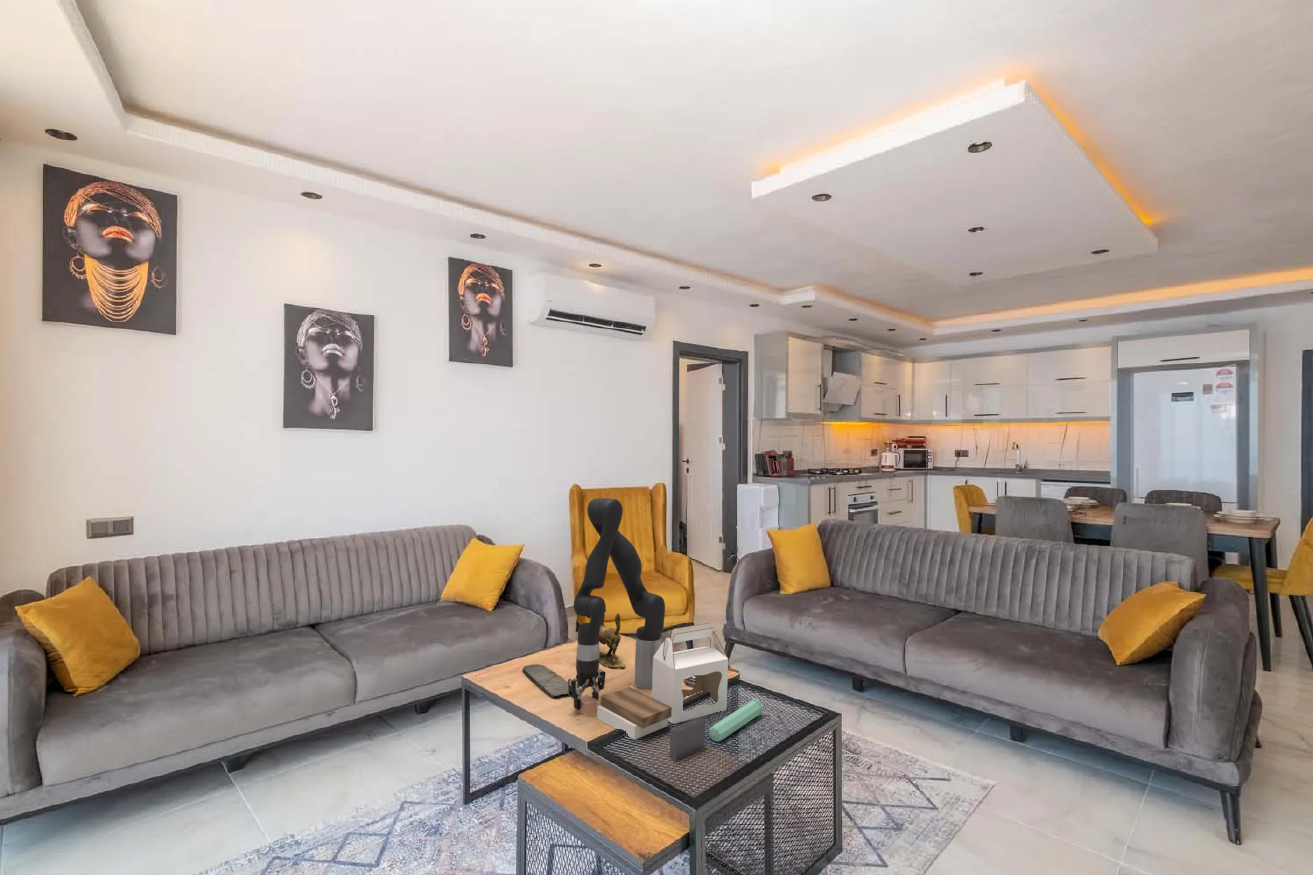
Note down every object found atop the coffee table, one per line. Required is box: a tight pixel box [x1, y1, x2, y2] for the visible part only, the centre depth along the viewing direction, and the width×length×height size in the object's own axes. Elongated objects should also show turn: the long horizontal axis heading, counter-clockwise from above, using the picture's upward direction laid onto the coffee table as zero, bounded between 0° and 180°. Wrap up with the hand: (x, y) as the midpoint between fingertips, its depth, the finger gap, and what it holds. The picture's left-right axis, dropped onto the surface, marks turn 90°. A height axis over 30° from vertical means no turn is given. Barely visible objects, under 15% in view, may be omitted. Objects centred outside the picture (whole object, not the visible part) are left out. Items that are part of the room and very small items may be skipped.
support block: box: [574, 694, 599, 716], centre depth 206 cm, size 5×6×4 cm
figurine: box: [586, 609, 627, 670], centre depth 251 cm, size 13×25×20 cm, turn 41°
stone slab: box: [522, 663, 569, 699], centre depth 228 cm, size 10×3×30 cm
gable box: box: [651, 622, 729, 725], centre depth 209 cm, size 22×13×28 cm, turn 122°
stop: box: [669, 717, 706, 762], centre depth 181 cm, size 12×2×8 cm, turn 134°
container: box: [709, 698, 764, 743], centre depth 197 cm, size 6×6×25 cm
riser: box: [596, 704, 669, 740], centre depth 198 cm, size 14×18×4 cm
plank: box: [600, 686, 672, 728], centre depth 197 cm, size 12×20×3 cm, turn 44°
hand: (586, 706), depth 206 cm, fingers open, 6 cm apart
